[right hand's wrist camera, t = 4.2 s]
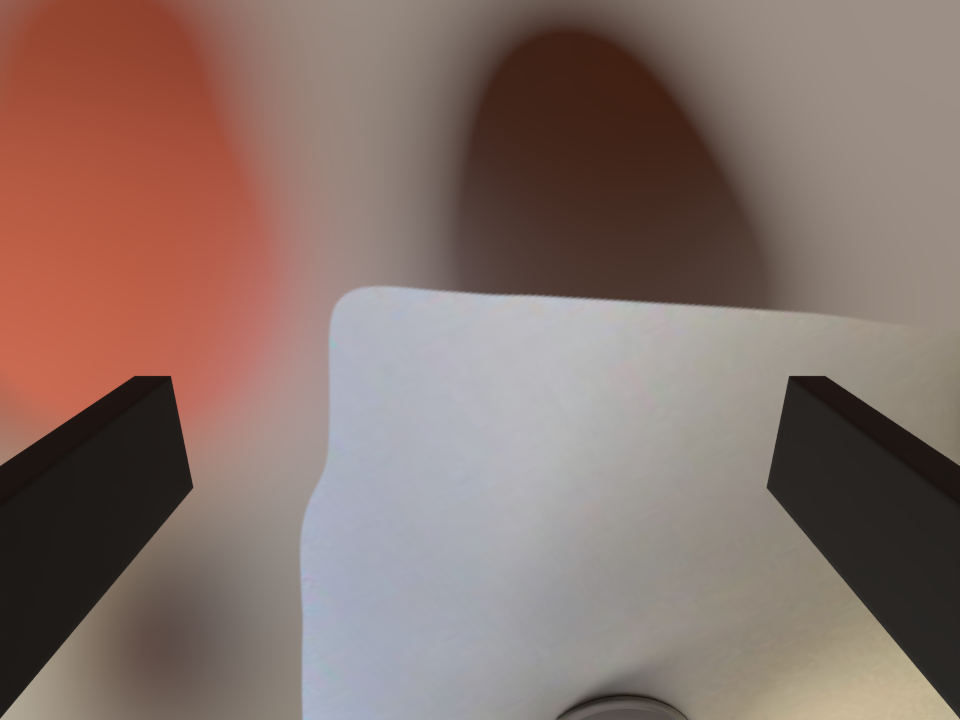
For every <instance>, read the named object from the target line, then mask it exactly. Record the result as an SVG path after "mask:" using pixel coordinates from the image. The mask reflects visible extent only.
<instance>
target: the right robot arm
mask: <svg viewBox="0 0 960 720" xmlns="http://www.w3.org/2000/svg"><path fill="white" fill-rule="evenodd" d="M192 489H193V484H192V479H191V474H190V469H189V464H188V459H187V454H186V449H185V444H184V439H183V434H182V429H181V424H180V419H179V414H178V409H177V404H176V399H175V394H174V390H173V384H172V380H171V376H134V377H133V378H131V379H130V380H128V381H127V382H125V383H124V384H122V385H121V386H119V387H118V388H116V389H115V390H113V391H112V392H110V393H109V394H107V395H106V396H104V397H103V398H101V399H100V400H98V401H97V402H95V403H94V404H92V405H91V406H89V407H88V408H86V409H85V410H83V411H82V412H80V413H79V414H77V415H76V416H74V417H73V418H71V419H70V420H68V421H67V422H65V423H64V424H62V425H61V426H59V427H58V428H56V429H55V430H53V431H52V432H50V433H49V434H47V435H46V436H44V437H43V438H41V439H40V440H38V441H37V442H35V443H34V444H32V445H31V446H29V447H28V448H26V449H25V450H23V451H22V452H20V453H19V454H17V455H16V456H14V457H13V458H12V459H10V460H8V461H7V462H6V463H4V464H3V465H1V466H0V718H1V717H2V716H3V715H4V713H5V712H6V711H7V710H8V709H9V707H10V706H11V705H12V704H13V703H14V701H15V700H16V699H17V698H18V697H19V696H20V694H21V693H22V692H23V691H24V690H25V688H26V687H27V686H28V685H29V684H30V682H31V681H32V680H33V679H34V677H35V676H36V675H37V674H38V673H39V672H40V670H41V669H42V668H43V667H44V666H45V664H46V663H47V662H48V661H49V660H50V658H51V657H52V656H53V655H54V654H55V652H56V651H57V650H58V649H59V648H60V646H61V645H62V644H63V643H64V642H65V641H66V639H67V638H68V637H69V636H70V635H71V633H72V632H73V631H74V630H75V629H76V627H77V626H78V625H79V624H80V623H81V621H82V620H83V619H84V618H85V617H86V615H87V614H88V613H89V612H90V611H91V609H92V608H93V607H94V606H95V605H96V603H97V602H98V601H99V600H100V599H101V597H102V596H103V595H104V594H105V593H106V592H107V590H108V589H109V588H110V587H111V585H112V584H113V583H114V582H115V581H116V580H117V578H118V577H119V576H120V575H121V574H122V572H123V571H124V570H125V569H126V568H127V566H128V565H129V564H130V563H131V562H132V560H133V559H134V558H135V557H136V556H137V554H138V553H139V552H140V551H141V550H142V548H143V547H144V546H145V545H146V544H147V542H148V541H149V540H150V539H151V538H152V537H153V535H154V534H155V533H156V532H157V531H158V529H159V528H160V527H161V526H162V525H163V523H164V522H165V521H166V520H167V519H168V517H169V516H170V515H171V514H172V513H173V511H174V510H175V509H176V508H177V507H178V505H179V504H180V503H181V502H182V501H183V499H184V498H185V497H186V496H187V495H188V493H189V492H190V491H191V490H192ZM767 489H768V490H769V491H770V492H771V493H772V495H773V496H774V497H775V498H776V499H777V501H778V502H779V503H780V504H781V505H782V507H783V508H784V509H785V510H786V511H787V513H788V514H789V515H790V516H791V517H792V519H793V520H794V521H795V522H796V523H797V525H798V526H799V527H800V528H801V529H802V531H803V532H804V533H805V534H806V535H807V537H808V538H809V539H810V540H811V541H812V542H813V544H814V545H815V546H816V547H817V548H818V550H819V551H820V552H821V553H822V554H823V556H824V557H825V558H826V559H827V560H828V562H829V563H830V564H831V565H832V566H833V568H834V569H835V570H836V571H837V572H838V574H839V575H840V576H841V577H842V578H843V580H844V581H845V582H846V583H847V584H848V586H849V587H850V588H851V589H852V590H853V592H854V593H855V594H856V595H857V596H858V597H859V599H860V600H861V601H862V602H863V603H864V605H865V606H866V607H867V608H868V609H869V611H870V612H871V613H872V614H873V615H874V617H875V618H876V619H877V620H878V621H879V623H880V624H881V625H882V626H883V627H884V629H885V630H886V631H887V632H888V633H889V635H890V636H891V637H892V638H893V639H894V641H895V642H896V643H897V644H898V645H899V646H900V648H901V649H902V650H903V651H904V652H905V654H906V655H907V656H908V657H909V658H910V660H911V661H912V662H913V663H914V664H915V666H916V667H917V668H918V669H919V670H920V672H921V673H922V674H923V675H924V676H925V678H926V679H927V680H928V681H929V682H930V684H931V685H932V686H933V687H934V688H935V690H936V691H937V692H938V693H939V694H940V696H941V697H942V698H943V699H944V700H945V701H946V703H947V704H948V705H949V706H950V707H951V709H952V710H953V711H954V712H955V713H956V715H957V716H958V717H959V718H960V466H959V465H957V464H956V463H955V462H953V461H952V460H950V459H949V458H947V457H946V456H944V455H943V454H941V453H940V452H938V451H937V450H935V449H934V448H932V447H931V446H929V445H928V444H926V443H925V442H923V441H922V440H920V439H919V438H917V437H916V436H914V435H913V434H911V433H910V432H908V431H907V430H905V429H904V428H902V427H901V426H899V425H898V424H896V423H895V422H893V421H892V420H890V419H889V418H887V417H886V416H884V415H883V414H881V413H880V412H878V411H877V410H875V409H874V408H872V407H871V406H869V405H868V404H866V403H865V402H863V401H862V400H860V399H859V398H857V397H856V396H854V395H853V394H851V393H850V392H848V391H847V390H845V389H844V388H842V387H841V386H839V385H838V384H836V383H835V382H833V381H832V380H830V379H829V378H827V377H826V376H789V380H788V384H787V389H786V394H785V399H784V404H783V409H782V414H781V419H780V424H779V429H778V434H777V439H776V444H775V449H774V454H773V459H772V464H771V469H770V474H769V479H768V484H767ZM558 720H687V719H686V718H685V717H684V716H683V715H682V714H681V713H679V712H678V711H676V710H675V709H673V708H672V707H670V706H668V705H666V704H664V703H661V702H658V701H655V700H651V699H647V698H642V697H633V696H618V697H608V698H603V699H598V700H594V701H591V702H588V703H585V704H583V705H580V706H578V707H576V708H574V709H572V710H571V711H569V712H567V713H566V714H564V715H563V716H562V717H560V718H559V719H558Z"/></svg>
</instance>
